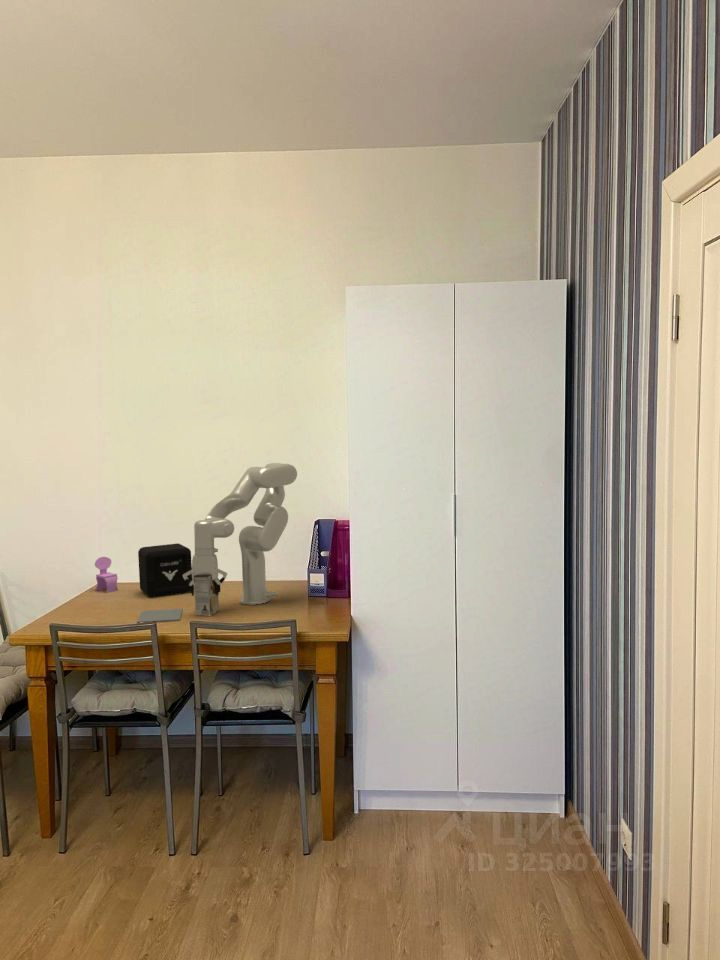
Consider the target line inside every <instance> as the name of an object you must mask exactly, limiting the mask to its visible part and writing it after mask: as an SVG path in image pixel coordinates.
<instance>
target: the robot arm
mask: <svg viewBox="0 0 720 960" xmlns="http://www.w3.org/2000/svg"><path fill="white" fill-rule="evenodd" d="M297 477H298V470H297V469H296V467H295V466H294V465H292V464H290V463H282V462H281V463H280V462H279V463H278V462H271V463H268V464H266V465H265V466H264V467H262V466H261V467H260V466H251V467H249V468H248V469H247V470H246V471H245V472H244V473H243V475H242V476H241V478H240V479H239V481H237V483H236V485H235V487H234V488H233V490H232V491H231V492H230V493H229V494H228V495H227V496H225V497H224V498H223V499H221V500H220V501H218V502H217V503H216V504H215V505H214V506H213V507H212V508H211V510H209V512H208V513H207V515H206V517H205V518H204V519H202V520H200V519H199V520H197V521H195V522H194V526H193V528H194V529H193V530H194V535H193V536H194V554H193V555H192V558H191V563H192V570H190V571H188V572H186V573H184V574H183V578H184V580H185V582H187V583H188V584H189V586H190V592H189V594H191V596H192V597H193V596H194V597H195V588H194V576H195V575H212V580H215V582H216V583H217V595H218V596H219V593H221V584H223V582H224V581H225V579H226V578H227V576H228V572H226V571H224V570H221V569H220V568H219V564H218V557H217V554H215V553H218V552H219V548H216V547H215V539H216V538H217V539H218V538H221V539H225V538H229V537H231V536H232V535H233V533H234V531H235V524H234V523H233V521H231V520H230V519H227V518H226V517H228V516H229V515H231V514H232V513H233V512H234V513H235V512H237V511H238V510H241V509H243V508H246V507H247V506H248V505H249V504H250V503H251V502H252V500H253V499H254V496H255V495H256V494H257V493H258V491H259V490H260V489H265V491H264V495H263V497H262V499H261V500H260V502H259V504H258V506H257V508H256V509H255V511H254V513H253V522H254V523H255V526H254V525H248V526H245V527H243V528H242V529H241V530H240V532H239V535H238V543H239V547H240V553H241V569H242V571H241V572H242V576H241V577H242V592H243V593H242V597H240V598H239V603H240V604H243V605H249V606H251V605H254V606H255V605H256V604H257V605H262V603H264V604H267V603H269V602H270V601H271V597H278V591H274V590H270V591H269V590H268V589H267V579H266V578H267V576H266V556H265V552H271V551H273V549H275V547H276V545H277V544H278V542H279V540H280V538H281V537H282V534H284V533H283V532H284V530H285V529H286V527H287V525H288V521H289V512H288V511H287V509H286V508H285V507H284V506H283V503H284V500H285V497H286V493H285V492H286V491H285V487H284V486H287V485H291V484H293V483H294V482H295V481H296V480H297ZM256 525H258V526H256ZM261 526H262V527H261ZM190 574H192V580H191V581H190V580H189V579H188V578H187V576H188V575H190ZM219 574H221V575H222V577H221V578H220V579H219ZM268 601H269V602H268ZM266 602H267V603H266Z"/></svg>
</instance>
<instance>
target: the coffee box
mask: <svg viewBox="0 0 720 960" xmlns="http://www.w3.org/2000/svg"><path fill="white" fill-rule="evenodd" d="M193 585H194V602H195V603H194V605H195V616H196V615H211V616H212V614H213V613H214V614H216V613H217V612H218V611H219V610H220V603H219V601H220V600H219V595H217V583H216V582H215V580H212V575H195V576H194V583H193ZM216 611H217V612H216ZM214 614H213V615H214Z"/></svg>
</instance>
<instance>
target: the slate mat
mask: <svg viewBox="0 0 720 960" xmlns="http://www.w3.org/2000/svg"><path fill="white" fill-rule="evenodd" d="M183 610H184V609H183V608H170V609H169V608H168V609H166V608H165V609H151V610H148V609H147V610H141V612H140V614H139V616H138V619H137V621H136V624H141V623H140V622H150V621H156V622H155V623H163V622H180V621H181V618H182V614H183Z"/></svg>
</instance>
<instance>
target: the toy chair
mask: <svg viewBox="0 0 720 960" xmlns="http://www.w3.org/2000/svg"><path fill="white" fill-rule="evenodd" d="M111 565H112V559H111V558H110V557H107V556H101V557H98V558H97V559H96V560H95V562H94V566H95V568H96V569H97V570H99V574H96V576H95V578H96V588H95V592H97V591H100V590H105V589H106V590H105V594H108V593H112V592H116V591H119V588H118V578H119V577H118V573H112V572H109V571H108V568H110V567H111Z"/></svg>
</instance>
